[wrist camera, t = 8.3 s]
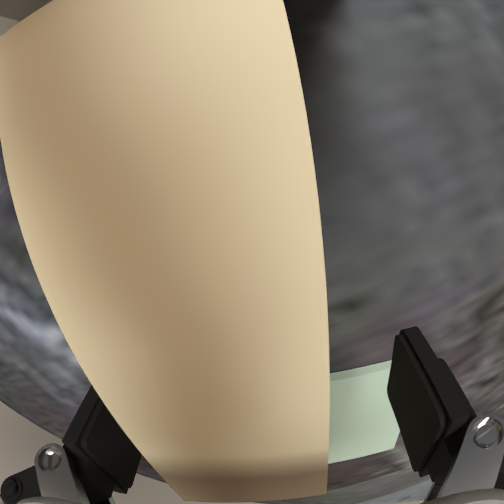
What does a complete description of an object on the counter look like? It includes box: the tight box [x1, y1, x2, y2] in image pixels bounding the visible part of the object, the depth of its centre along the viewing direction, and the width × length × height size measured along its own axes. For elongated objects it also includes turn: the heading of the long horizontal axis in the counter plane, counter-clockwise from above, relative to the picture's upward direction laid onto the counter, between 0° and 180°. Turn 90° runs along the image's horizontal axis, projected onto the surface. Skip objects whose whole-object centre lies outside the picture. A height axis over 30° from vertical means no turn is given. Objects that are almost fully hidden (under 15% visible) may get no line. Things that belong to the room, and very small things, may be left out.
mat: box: [328, 360, 400, 464], centre depth 17 cm, size 18×10×1 cm, turn 99°
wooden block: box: [0, 0, 330, 502], centre depth 9 cm, size 5×14×8 cm, turn 10°
